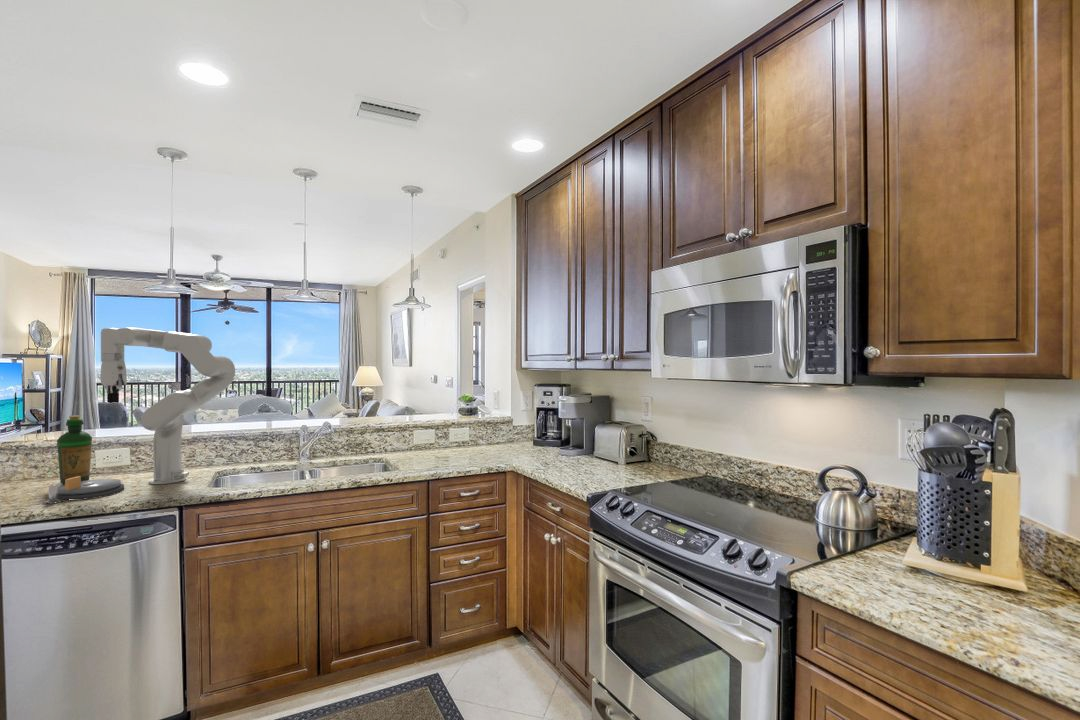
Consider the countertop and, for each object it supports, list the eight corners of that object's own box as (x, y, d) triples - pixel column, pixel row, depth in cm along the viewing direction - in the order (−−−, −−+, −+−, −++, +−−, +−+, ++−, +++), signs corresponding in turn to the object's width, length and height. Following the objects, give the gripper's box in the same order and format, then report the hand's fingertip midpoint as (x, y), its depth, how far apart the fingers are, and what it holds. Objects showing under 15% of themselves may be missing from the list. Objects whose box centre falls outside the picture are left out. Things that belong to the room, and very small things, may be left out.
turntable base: (138, 487, 208) (138, 483, 208) (86, 501, 187) (86, 497, 187) (90, 485, 210) (90, 482, 210) (34, 499, 189) (34, 495, 189)
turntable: (86, 482, 208) (86, 468, 208) (133, 482, 208) (133, 468, 208) (39, 494, 189) (39, 479, 189) (91, 495, 189) (91, 479, 189)
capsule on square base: (52, 504, 183) (52, 486, 183) (42, 504, 184) (42, 486, 184) (66, 500, 188) (66, 483, 188) (56, 500, 188) (56, 482, 188)
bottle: (71, 489, 205) (71, 417, 205) (49, 487, 207) (49, 417, 207) (99, 482, 215) (99, 414, 215) (78, 481, 218) (78, 414, 218)
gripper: (134, 358, 215) (134, 402, 215) (112, 358, 221) (112, 401, 221) (113, 358, 208) (113, 404, 208) (91, 358, 214) (91, 402, 214)
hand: (112, 402), depth 215 cm, fingers closed
